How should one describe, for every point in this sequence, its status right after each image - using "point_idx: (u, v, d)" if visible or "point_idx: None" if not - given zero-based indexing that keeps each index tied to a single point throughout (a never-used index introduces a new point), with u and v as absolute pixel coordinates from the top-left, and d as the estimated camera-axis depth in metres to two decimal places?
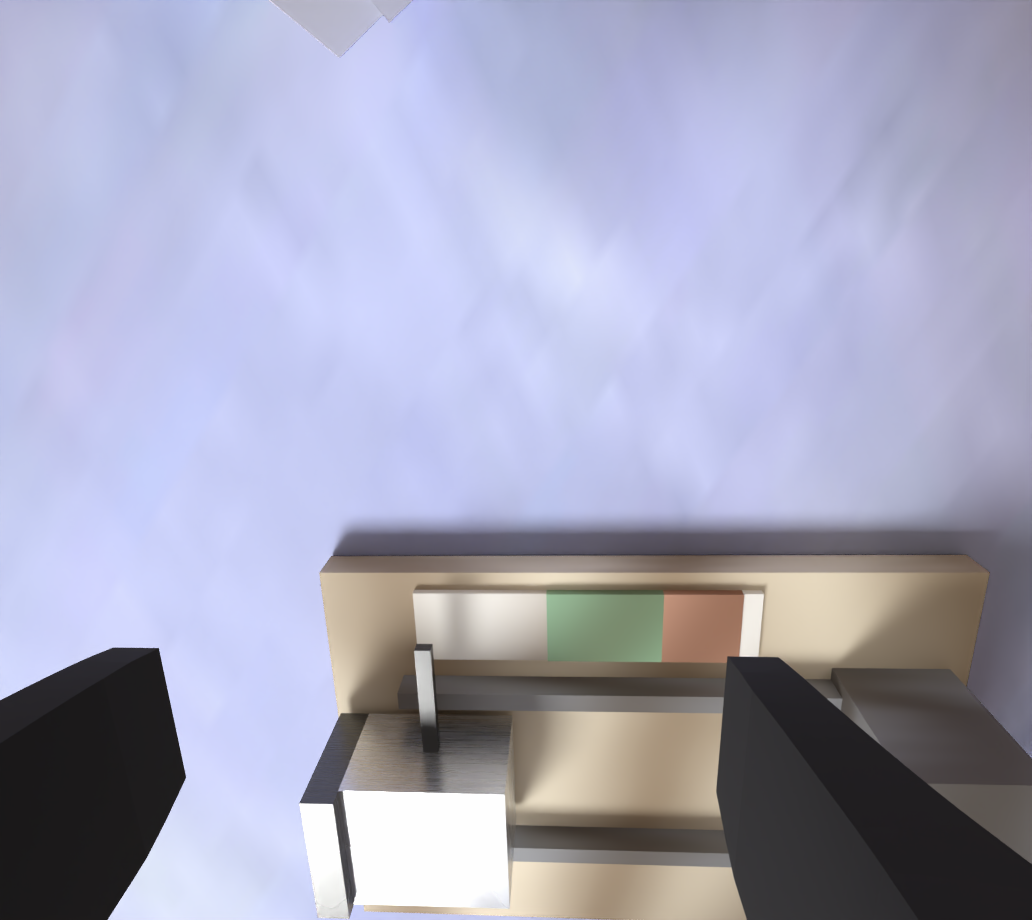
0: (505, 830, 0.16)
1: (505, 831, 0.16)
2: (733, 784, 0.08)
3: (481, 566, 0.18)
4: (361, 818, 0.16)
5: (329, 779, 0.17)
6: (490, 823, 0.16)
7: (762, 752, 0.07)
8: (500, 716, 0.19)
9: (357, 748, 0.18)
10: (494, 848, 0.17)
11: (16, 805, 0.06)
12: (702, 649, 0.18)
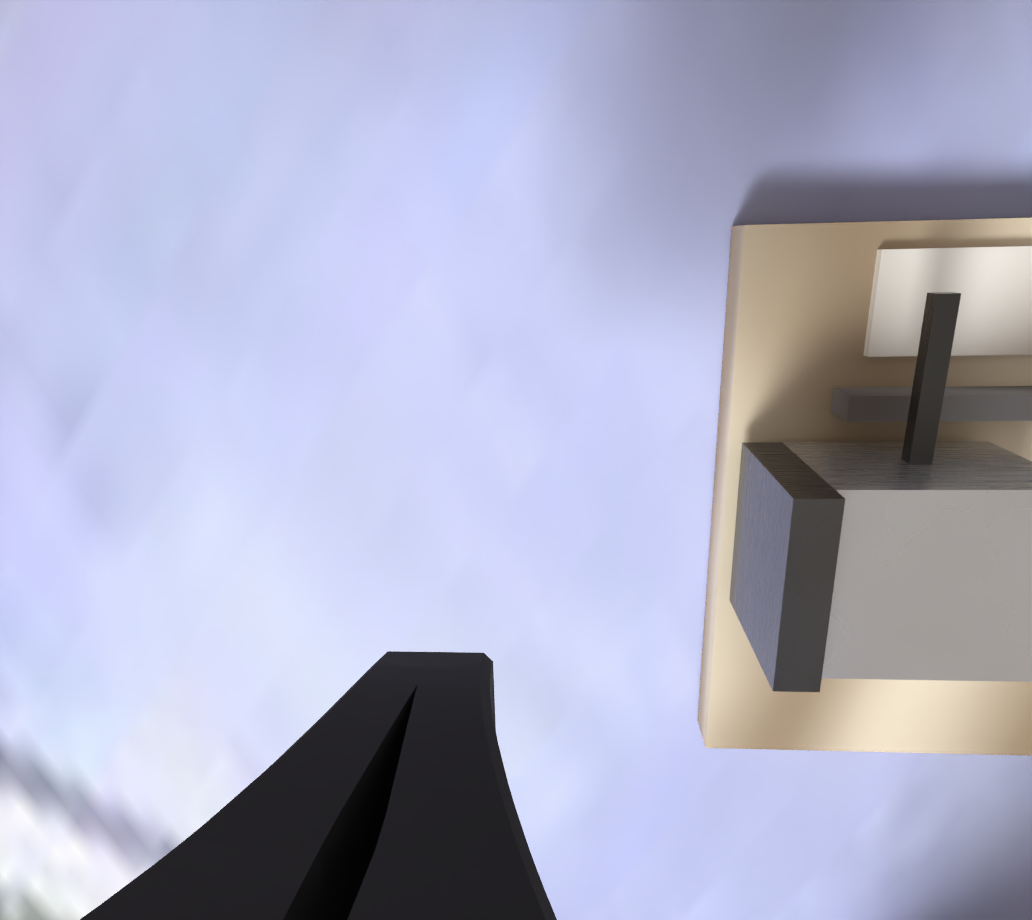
0: None
1: None
2: None
3: None
4: (859, 536, 0.11)
5: (807, 482, 0.11)
6: None
7: None
8: (970, 443, 0.14)
9: (809, 462, 0.12)
10: None
11: (381, 815, 0.06)
12: None
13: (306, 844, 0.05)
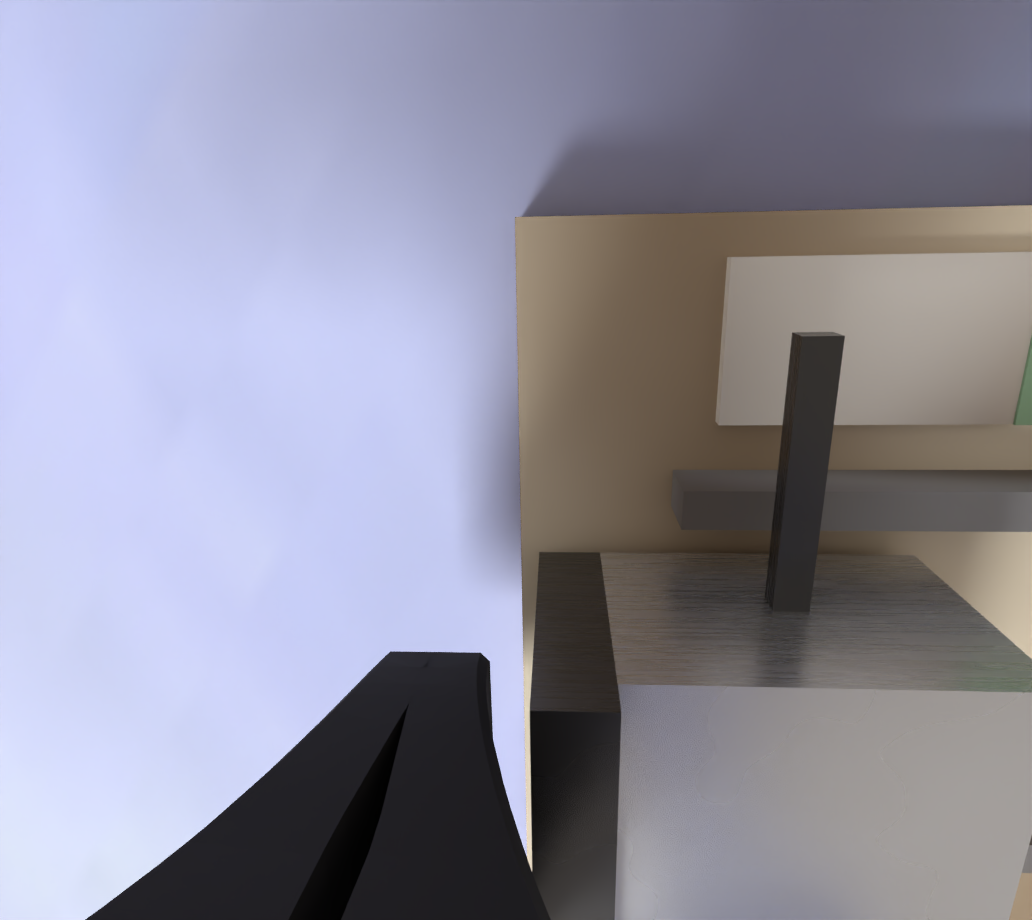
0: None
1: None
2: None
3: None
4: (666, 757, 0.07)
5: (581, 660, 0.07)
6: (1006, 771, 0.06)
7: None
8: (887, 557, 0.09)
9: (613, 605, 0.08)
10: (997, 836, 0.07)
11: None
12: None
13: (311, 845, 0.05)
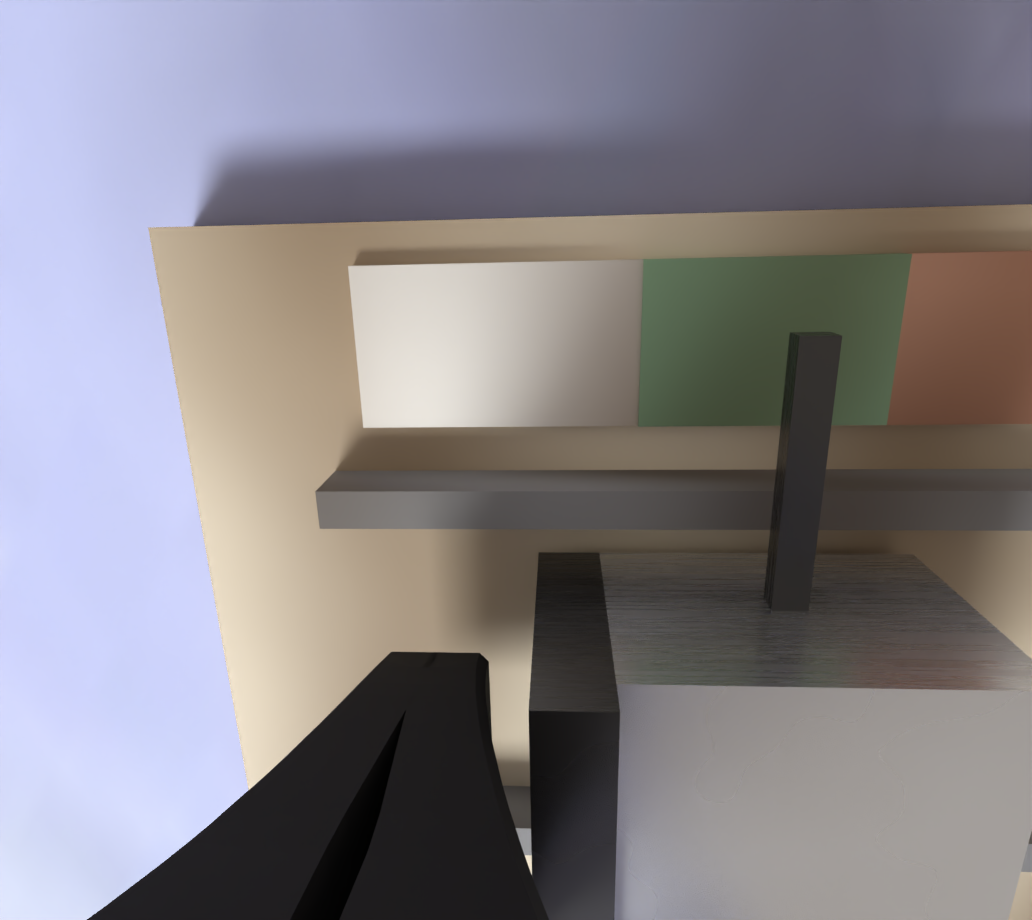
0: None
1: None
2: None
3: (498, 219, 0.08)
4: (665, 757, 0.07)
5: (580, 660, 0.07)
6: (1005, 770, 0.06)
7: None
8: (886, 557, 0.09)
9: (612, 605, 0.08)
10: (996, 835, 0.07)
11: None
12: (981, 392, 0.08)
13: (312, 844, 0.05)
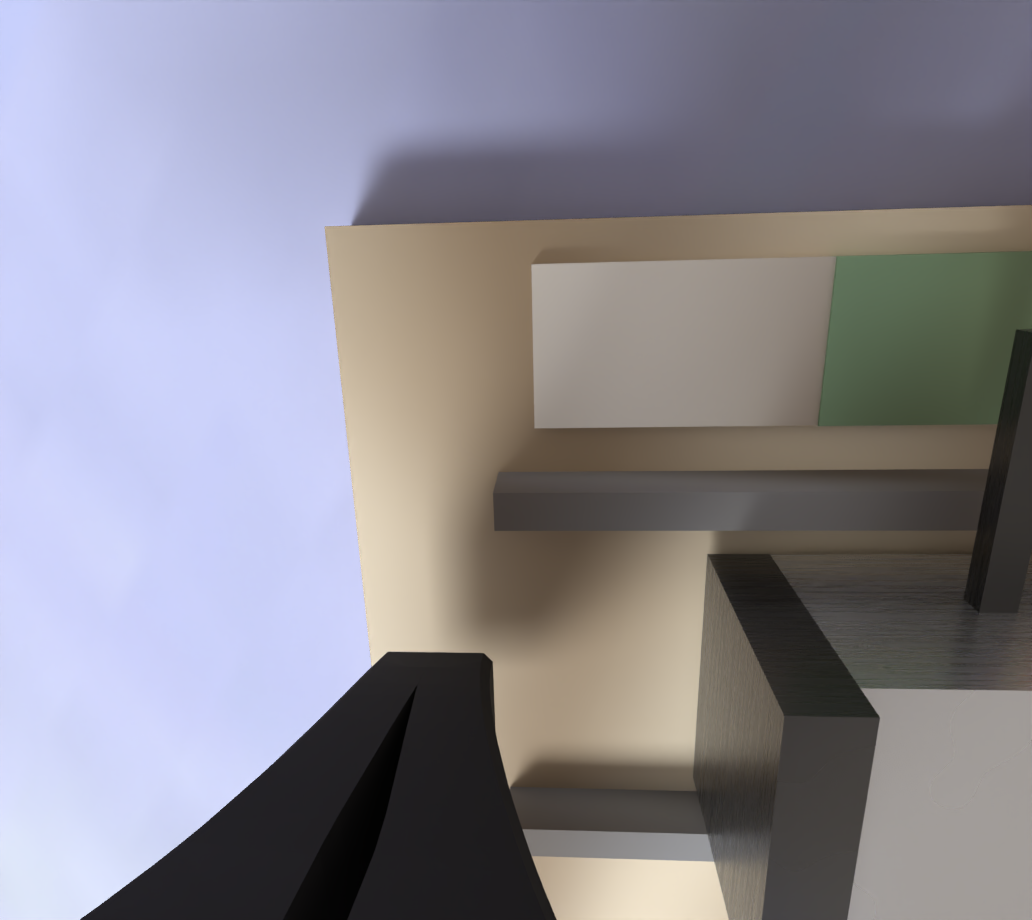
0: None
1: None
2: None
3: (678, 216, 0.08)
4: (902, 762, 0.06)
5: (810, 664, 0.07)
6: None
7: None
8: None
9: (812, 607, 0.08)
10: None
11: (381, 816, 0.06)
12: None
13: (306, 844, 0.05)
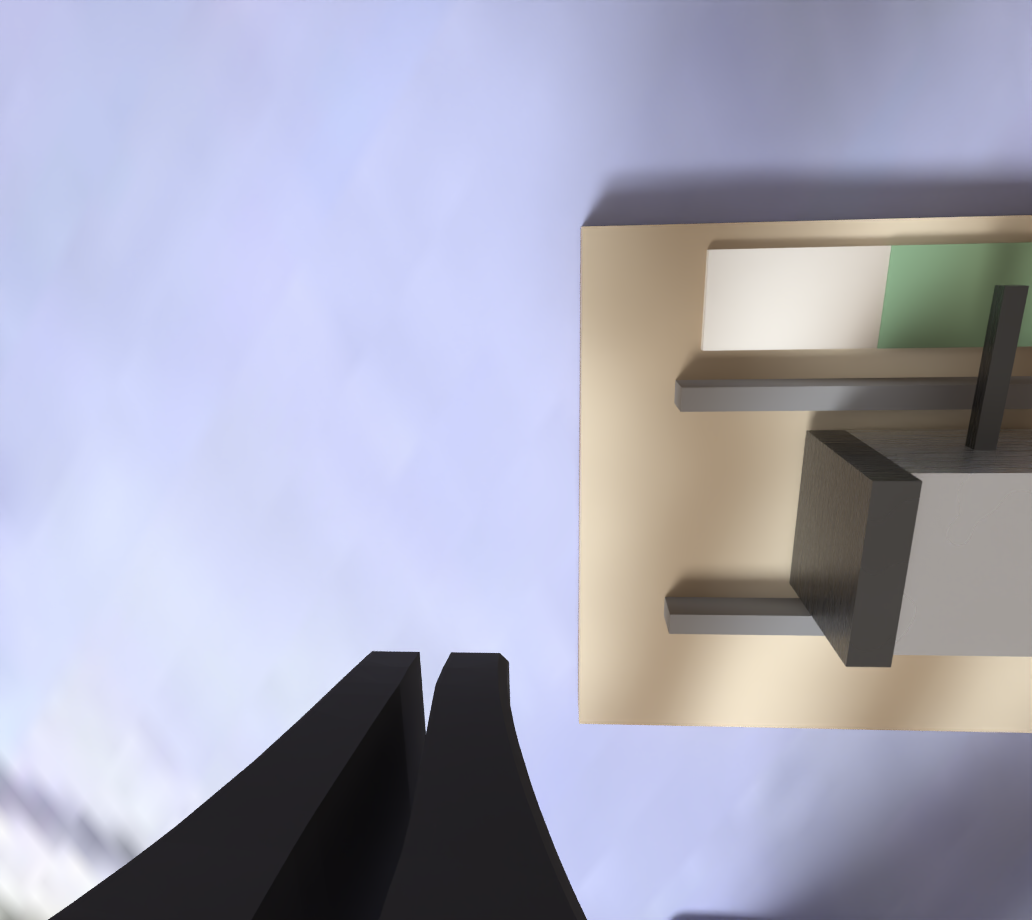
0: None
1: None
2: None
3: None
4: (932, 517, 0.12)
5: (881, 466, 0.12)
6: None
7: None
8: (1027, 431, 0.14)
9: (877, 448, 0.13)
10: None
11: (359, 815, 0.06)
12: None
13: (279, 844, 0.05)
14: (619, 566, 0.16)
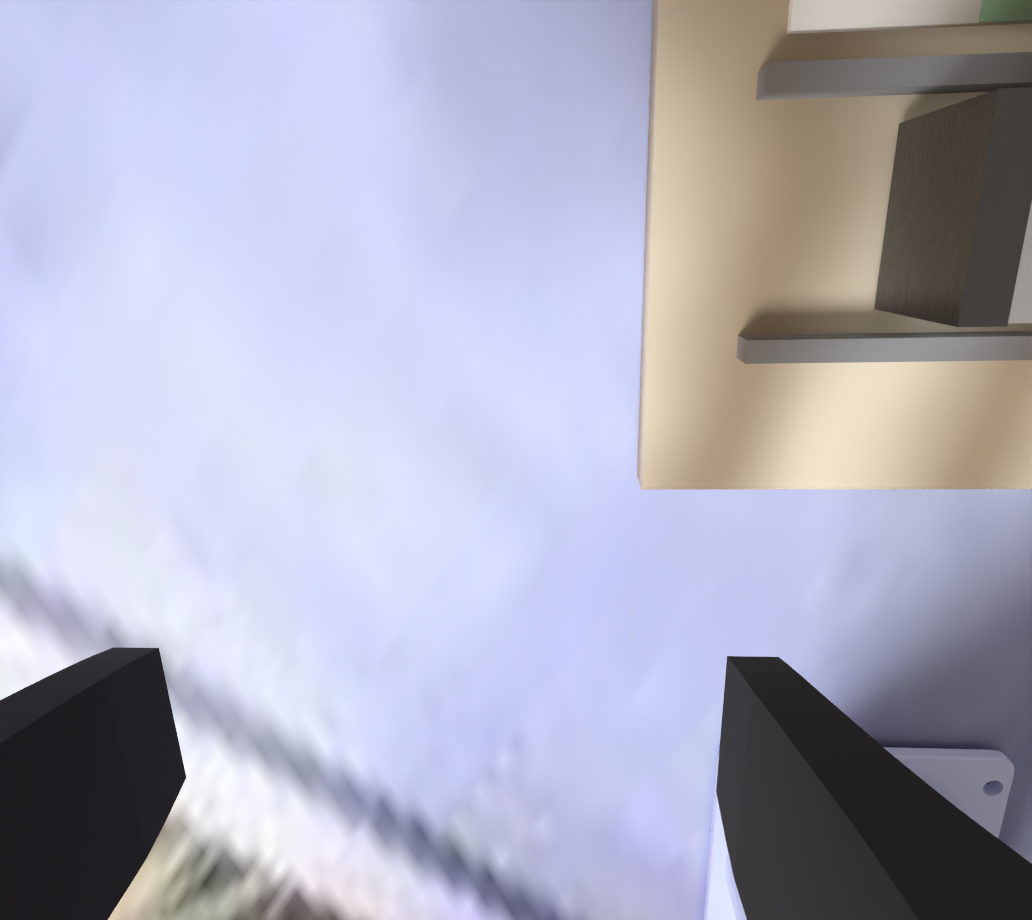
0: None
1: None
2: (733, 784, 0.08)
3: None
4: None
5: None
6: None
7: (762, 752, 0.07)
8: None
9: None
10: None
11: (16, 805, 0.06)
12: None
13: None
14: (690, 299, 0.15)
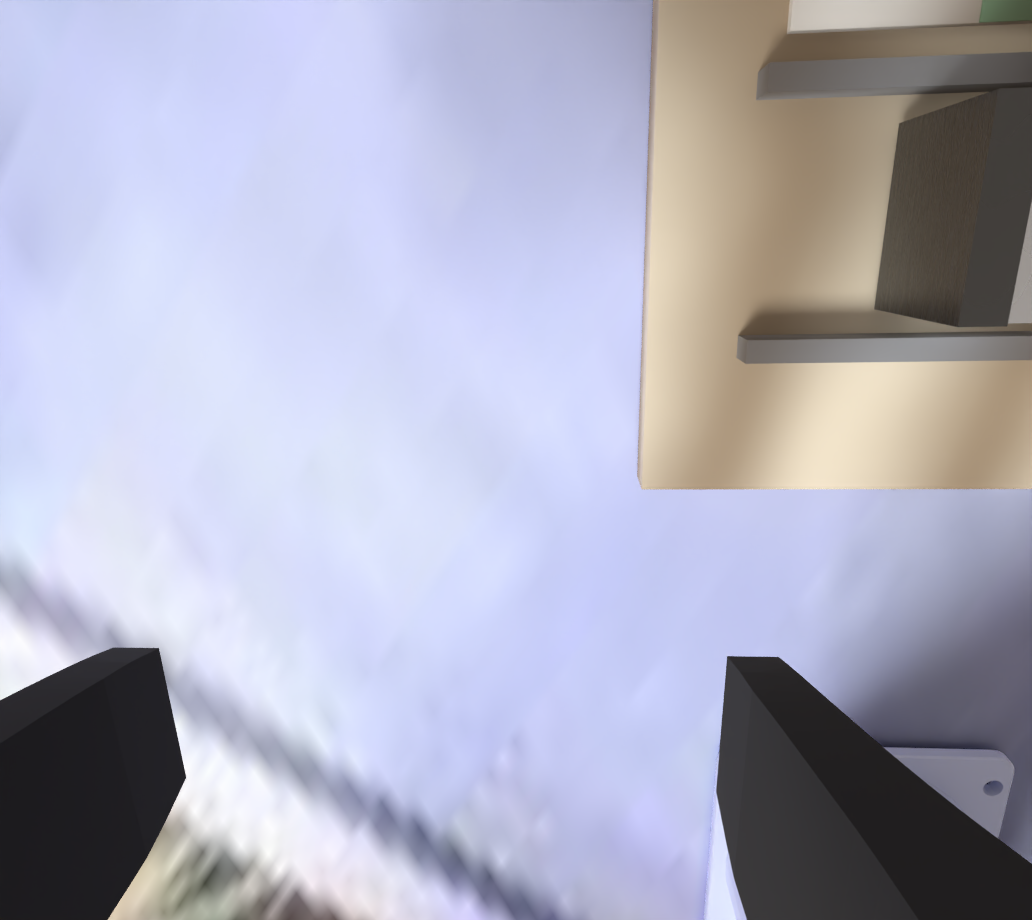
0: None
1: None
2: (733, 784, 0.08)
3: None
4: None
5: None
6: None
7: (762, 752, 0.07)
8: None
9: None
10: None
11: (16, 805, 0.06)
12: None
13: None
14: (690, 299, 0.15)
